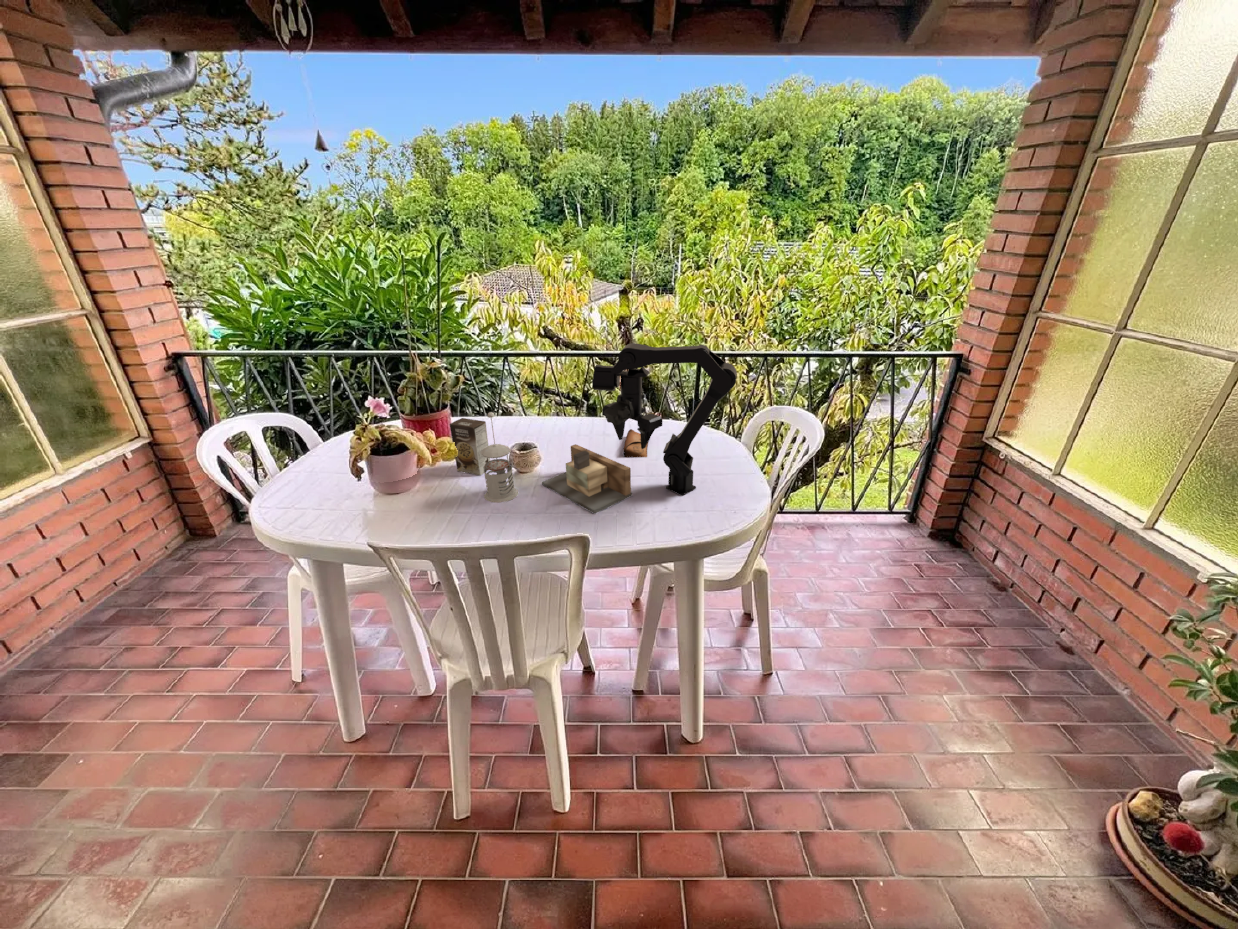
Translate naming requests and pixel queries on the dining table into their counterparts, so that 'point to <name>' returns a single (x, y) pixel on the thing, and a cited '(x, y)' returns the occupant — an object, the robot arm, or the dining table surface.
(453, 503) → the dining table surface
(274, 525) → the dining table surface
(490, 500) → the french press
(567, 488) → the wall board
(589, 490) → the wooden block
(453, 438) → the coffee box
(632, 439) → the sunglasses case
